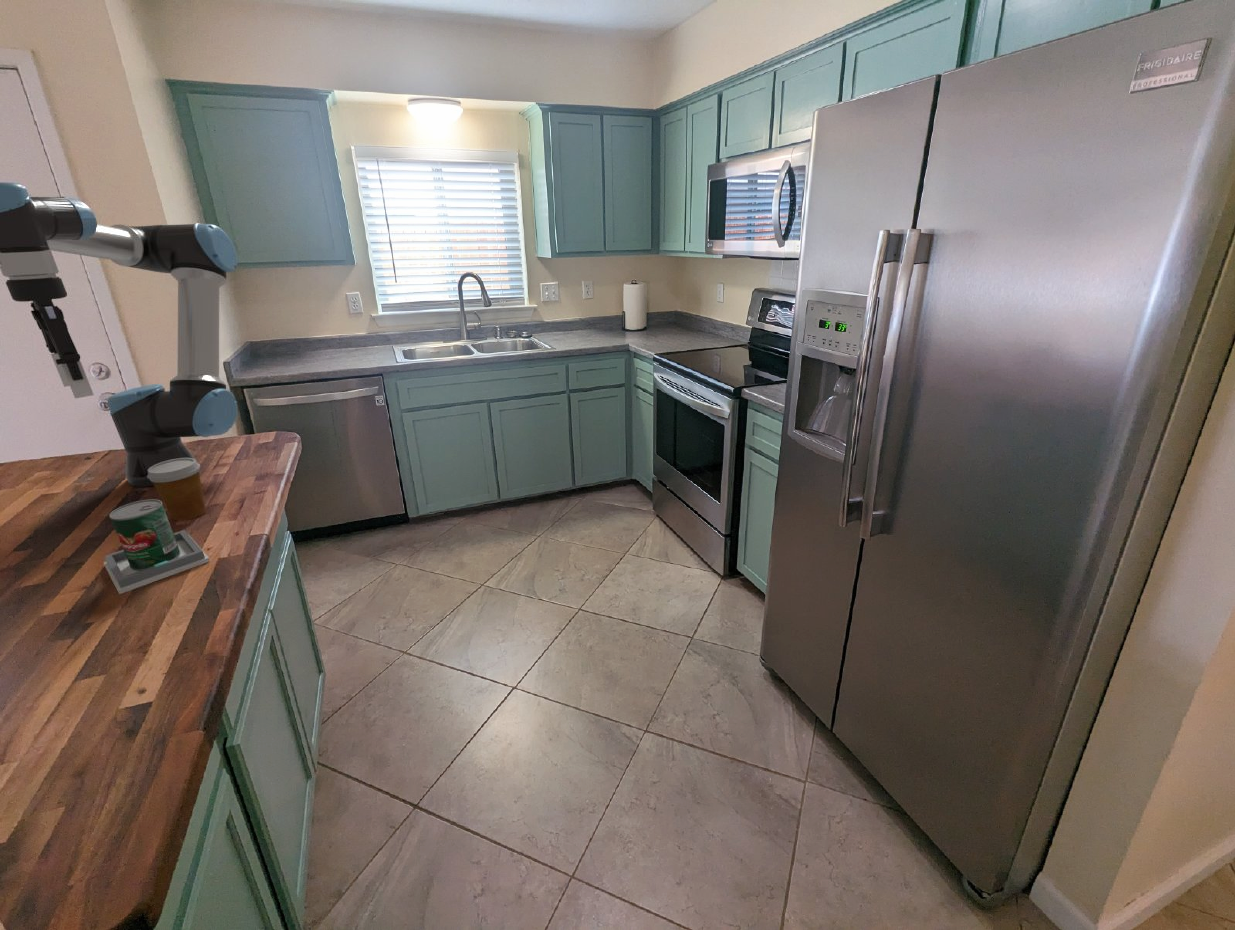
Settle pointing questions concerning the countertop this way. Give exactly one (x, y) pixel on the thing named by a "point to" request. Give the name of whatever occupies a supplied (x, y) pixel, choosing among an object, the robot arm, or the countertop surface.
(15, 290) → the robot arm
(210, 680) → the countertop surface
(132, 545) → the canned tomato
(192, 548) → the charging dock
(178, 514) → the disposable coffee cup
